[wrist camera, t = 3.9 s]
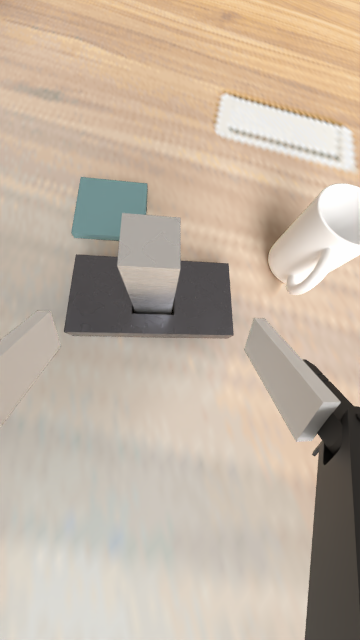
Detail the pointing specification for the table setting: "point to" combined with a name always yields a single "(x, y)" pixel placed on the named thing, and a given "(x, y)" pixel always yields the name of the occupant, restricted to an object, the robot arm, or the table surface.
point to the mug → (318, 239)
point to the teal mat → (106, 207)
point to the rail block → (120, 321)
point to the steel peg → (150, 261)
